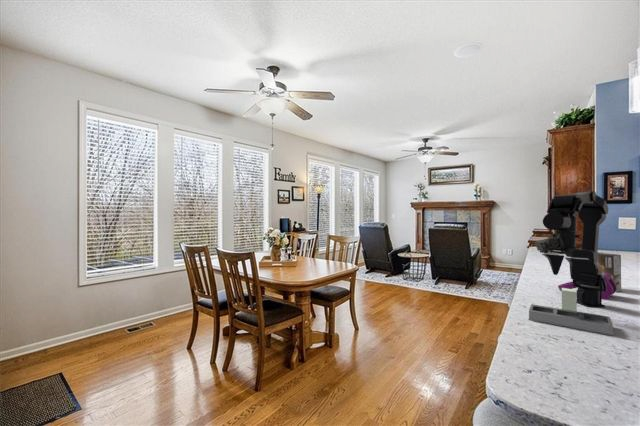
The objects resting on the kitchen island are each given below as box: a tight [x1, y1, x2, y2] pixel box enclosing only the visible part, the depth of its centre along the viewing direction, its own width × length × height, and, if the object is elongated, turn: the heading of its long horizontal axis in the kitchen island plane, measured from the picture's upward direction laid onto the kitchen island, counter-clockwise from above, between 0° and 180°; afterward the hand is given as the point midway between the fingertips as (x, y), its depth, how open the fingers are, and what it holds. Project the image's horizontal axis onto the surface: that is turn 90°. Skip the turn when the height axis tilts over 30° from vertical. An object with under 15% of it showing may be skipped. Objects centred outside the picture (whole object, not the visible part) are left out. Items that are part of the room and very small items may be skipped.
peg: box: [561, 288, 578, 312], centre depth 105 cm, size 4×4×8 cm
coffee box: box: [597, 252, 622, 292], centre depth 134 cm, size 9×6×16 cm
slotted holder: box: [528, 303, 614, 337], centre depth 95 cm, size 20×9×3 cm, turn 50°
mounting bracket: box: [557, 273, 617, 300], centre depth 127 cm, size 9×8×18 cm
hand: (563, 276), depth 100 cm, fingers open, 9 cm apart
